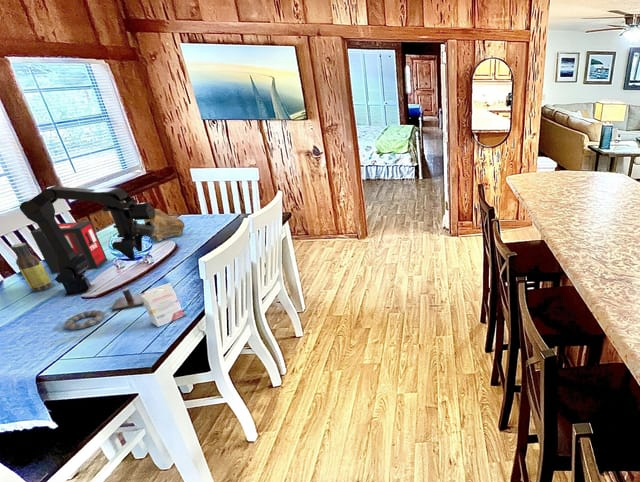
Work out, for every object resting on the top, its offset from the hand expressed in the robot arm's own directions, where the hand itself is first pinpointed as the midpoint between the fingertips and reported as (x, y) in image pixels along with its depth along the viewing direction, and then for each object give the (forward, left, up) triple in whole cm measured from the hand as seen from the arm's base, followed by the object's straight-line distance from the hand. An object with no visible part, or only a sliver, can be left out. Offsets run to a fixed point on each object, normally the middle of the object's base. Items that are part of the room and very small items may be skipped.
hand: (137, 255), depth 159 cm
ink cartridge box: (+12, -35, -14) cm, 39 cm away
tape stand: (-3, -15, -14) cm, 20 cm away
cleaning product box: (-31, +32, -14) cm, 47 cm away
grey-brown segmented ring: (-14, -24, -13) cm, 30 cm away
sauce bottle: (-38, +14, -14) cm, 43 cm away
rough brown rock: (-2, +58, -14) cm, 60 cm away
